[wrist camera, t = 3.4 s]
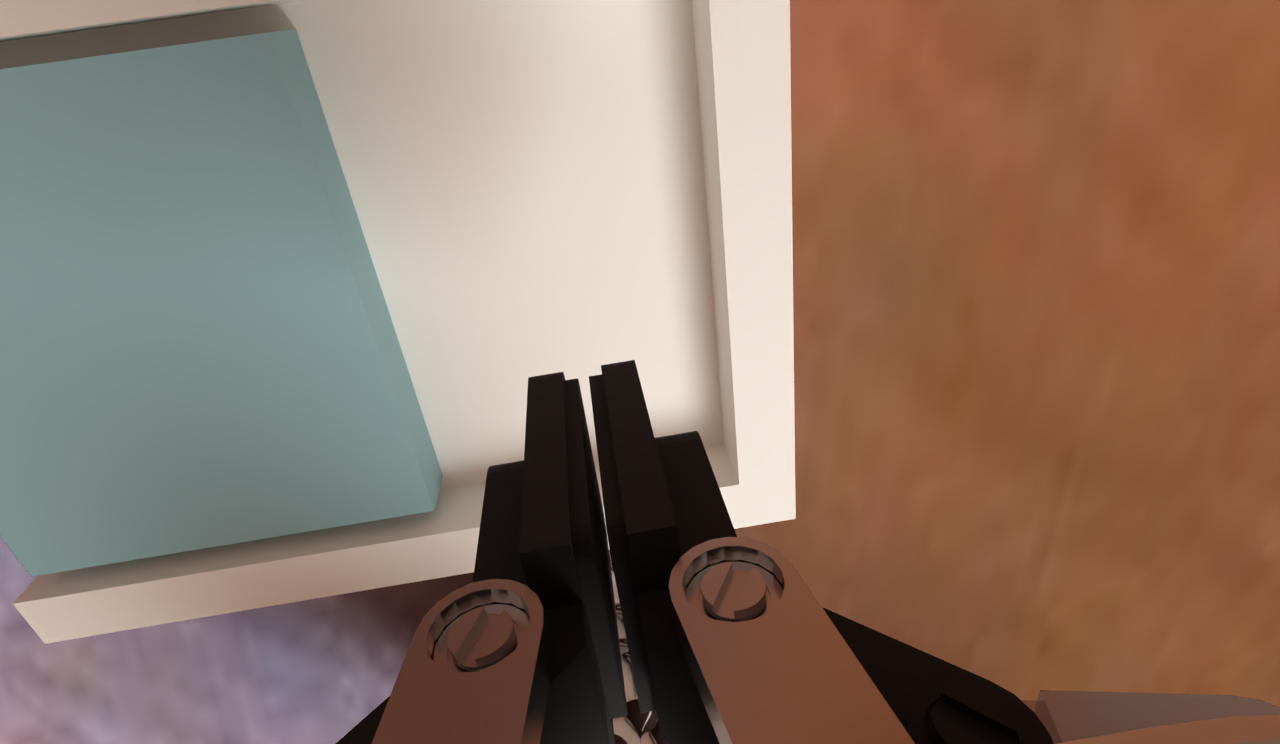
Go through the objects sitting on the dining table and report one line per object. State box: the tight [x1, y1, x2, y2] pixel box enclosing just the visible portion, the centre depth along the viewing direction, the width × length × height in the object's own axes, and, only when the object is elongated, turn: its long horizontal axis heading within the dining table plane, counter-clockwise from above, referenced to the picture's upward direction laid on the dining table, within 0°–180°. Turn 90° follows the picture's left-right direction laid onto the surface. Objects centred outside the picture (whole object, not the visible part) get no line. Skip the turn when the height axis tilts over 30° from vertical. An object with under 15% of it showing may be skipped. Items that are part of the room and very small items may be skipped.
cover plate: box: [0, 29, 443, 577], centre depth 17 cm, size 12×11×2 cm
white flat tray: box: [0, 0, 796, 644], centre depth 17 cm, size 16×22×3 cm
